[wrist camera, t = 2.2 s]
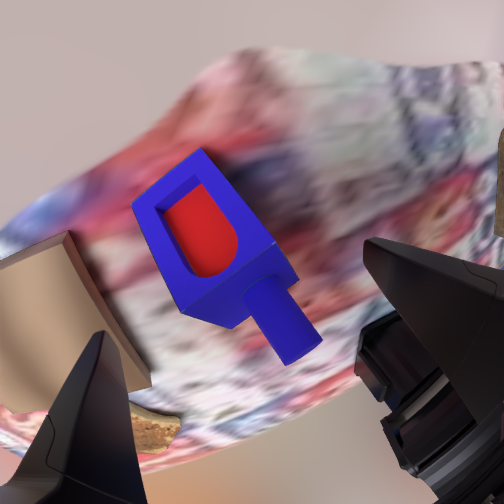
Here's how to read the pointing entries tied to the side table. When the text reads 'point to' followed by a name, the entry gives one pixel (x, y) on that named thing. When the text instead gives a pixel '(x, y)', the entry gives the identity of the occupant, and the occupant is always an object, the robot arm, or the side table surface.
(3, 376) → the tan curved panel
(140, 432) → the shard
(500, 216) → the brown carved statuette
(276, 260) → the blue and red scoop
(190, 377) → the side table surface
